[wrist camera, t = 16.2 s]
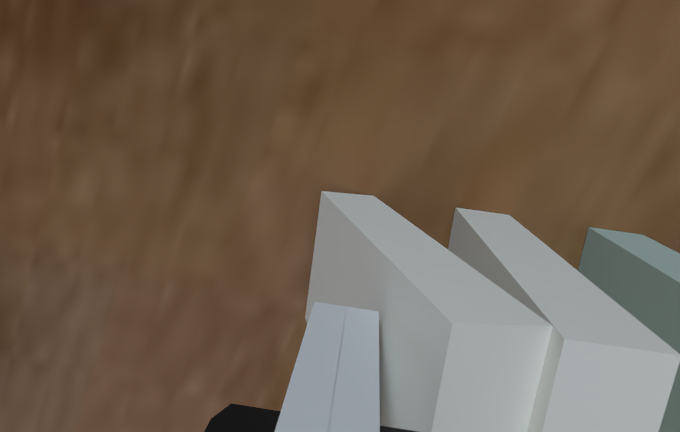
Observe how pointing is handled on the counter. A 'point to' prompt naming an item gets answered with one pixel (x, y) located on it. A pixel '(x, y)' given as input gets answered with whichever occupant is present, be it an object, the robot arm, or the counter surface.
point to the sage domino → (640, 290)
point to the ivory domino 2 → (572, 333)
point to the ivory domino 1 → (429, 322)
